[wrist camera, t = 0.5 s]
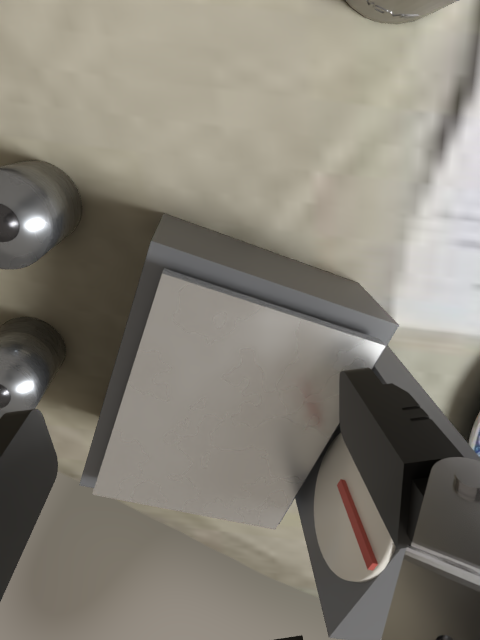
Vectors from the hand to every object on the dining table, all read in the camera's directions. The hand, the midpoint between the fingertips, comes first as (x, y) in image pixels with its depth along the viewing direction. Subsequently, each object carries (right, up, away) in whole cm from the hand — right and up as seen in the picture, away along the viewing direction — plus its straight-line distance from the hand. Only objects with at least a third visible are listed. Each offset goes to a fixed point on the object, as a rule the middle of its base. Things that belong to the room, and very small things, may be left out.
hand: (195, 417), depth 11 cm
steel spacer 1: (-12, +10, +15) cm, 22 cm away
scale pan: (0, -3, +14) cm, 15 cm away
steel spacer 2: (-15, +1, +20) cm, 24 cm away
